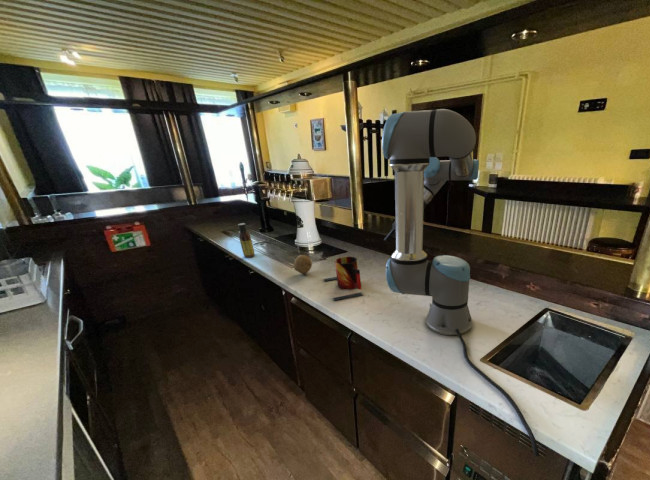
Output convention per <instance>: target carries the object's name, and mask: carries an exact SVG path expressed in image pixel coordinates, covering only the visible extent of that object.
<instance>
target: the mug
mask: <svg viewBox="0 0 650 480" xmlns="http://www.w3.org/2000/svg"><path fill="white" fill-rule="evenodd" d="M334 265H335V272H336V273H335V274H336V277H337V280H336V281H337V288H338V289H340V290H354V289H357V290H359V291H360V290H362V282H361V271H360V269H358V268H359V267H358V259H357V257H355V256H342V257H338V258H336V259H335V260H334Z"/></svg>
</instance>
